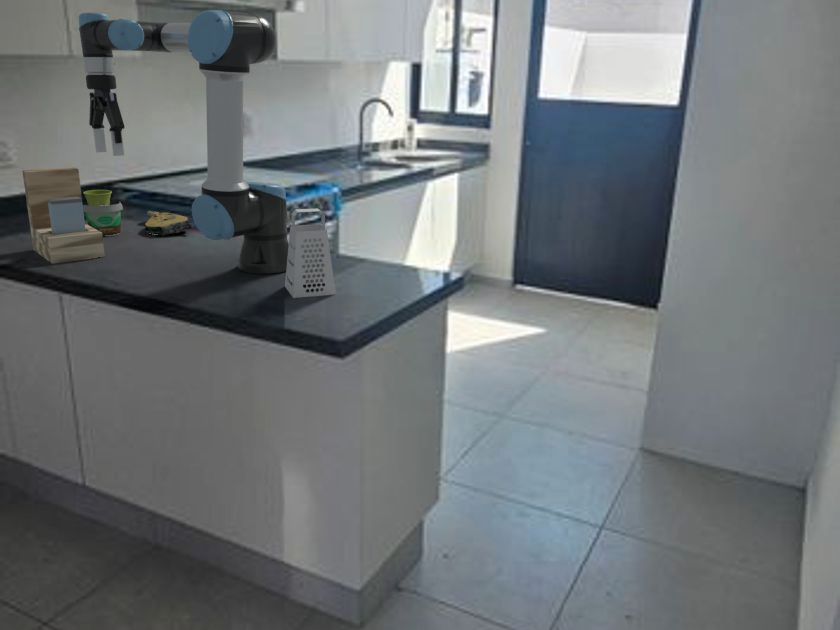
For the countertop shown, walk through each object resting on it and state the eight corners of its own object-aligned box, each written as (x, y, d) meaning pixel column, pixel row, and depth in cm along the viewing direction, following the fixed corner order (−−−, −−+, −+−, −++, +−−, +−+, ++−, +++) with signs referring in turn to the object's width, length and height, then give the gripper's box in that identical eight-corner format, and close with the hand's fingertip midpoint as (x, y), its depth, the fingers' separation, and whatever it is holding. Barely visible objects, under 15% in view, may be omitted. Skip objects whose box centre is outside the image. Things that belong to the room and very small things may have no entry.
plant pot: (119, 214, 275) (117, 190, 272) (103, 219, 266) (101, 194, 264) (97, 213, 277) (94, 189, 274) (80, 217, 268) (77, 193, 266)
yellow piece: (175, 201, 267) (193, 216, 242) (179, 217, 269) (197, 234, 244) (134, 210, 261) (148, 226, 236) (138, 226, 264) (153, 244, 239)
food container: (92, 239, 236) (88, 207, 233) (85, 236, 240) (81, 204, 237) (131, 234, 244) (128, 203, 240) (124, 231, 248) (121, 201, 245)
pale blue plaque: (86, 240, 216) (81, 198, 212) (56, 244, 211) (51, 201, 207) (82, 238, 219) (77, 196, 215) (53, 241, 214) (47, 199, 210)
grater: (335, 294, 185) (334, 213, 179) (293, 297, 181) (290, 215, 175) (325, 283, 194) (324, 205, 188) (284, 286, 191) (282, 207, 184)
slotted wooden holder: (104, 256, 215) (95, 175, 208) (52, 263, 207) (40, 179, 200) (83, 243, 230) (74, 167, 223) (33, 249, 221) (22, 170, 214)
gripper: (131, 73, 199) (140, 156, 205) (98, 74, 217) (107, 150, 223) (102, 73, 194) (112, 157, 200) (71, 74, 212) (81, 151, 218)
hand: (109, 153), depth 212 cm, fingers open, 13 cm apart
